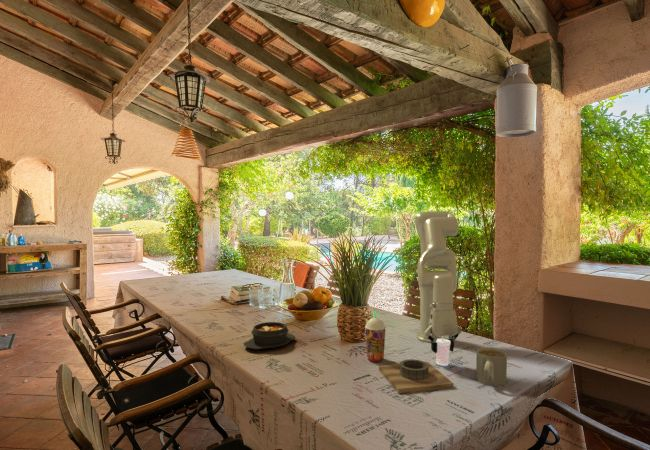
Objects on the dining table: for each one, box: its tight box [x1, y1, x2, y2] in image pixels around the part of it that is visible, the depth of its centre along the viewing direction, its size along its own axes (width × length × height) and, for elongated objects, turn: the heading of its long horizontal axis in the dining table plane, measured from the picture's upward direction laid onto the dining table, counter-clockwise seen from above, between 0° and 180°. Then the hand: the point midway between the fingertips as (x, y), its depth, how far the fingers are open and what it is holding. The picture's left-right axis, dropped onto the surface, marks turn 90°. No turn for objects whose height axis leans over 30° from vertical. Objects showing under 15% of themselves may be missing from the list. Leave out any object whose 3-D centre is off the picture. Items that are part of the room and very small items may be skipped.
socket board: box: [378, 358, 454, 394], centre depth 144 cm, size 20×20×5 cm
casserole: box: [243, 321, 296, 350], centre depth 181 cm, size 25×19×8 cm
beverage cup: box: [435, 336, 451, 367], centre depth 156 cm, size 6×6×14 cm
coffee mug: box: [475, 347, 508, 387], centre depth 141 cm, size 13×10×10 cm
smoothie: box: [364, 310, 387, 363], centre depth 161 cm, size 8×8×20 cm
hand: (442, 350), depth 156 cm, fingers closed on beverage cup, 6 cm apart
